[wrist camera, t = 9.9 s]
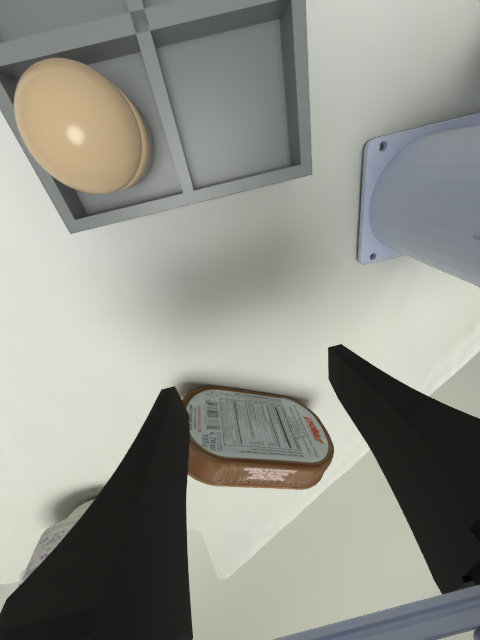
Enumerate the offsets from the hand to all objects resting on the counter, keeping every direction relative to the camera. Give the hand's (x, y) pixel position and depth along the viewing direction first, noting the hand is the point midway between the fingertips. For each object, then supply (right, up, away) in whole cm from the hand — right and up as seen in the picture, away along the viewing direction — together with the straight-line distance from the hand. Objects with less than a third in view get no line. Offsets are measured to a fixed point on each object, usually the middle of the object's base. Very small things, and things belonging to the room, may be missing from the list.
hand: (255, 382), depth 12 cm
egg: (-8, +12, +2) cm, 15 cm away
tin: (0, -5, +15) cm, 15 cm away
